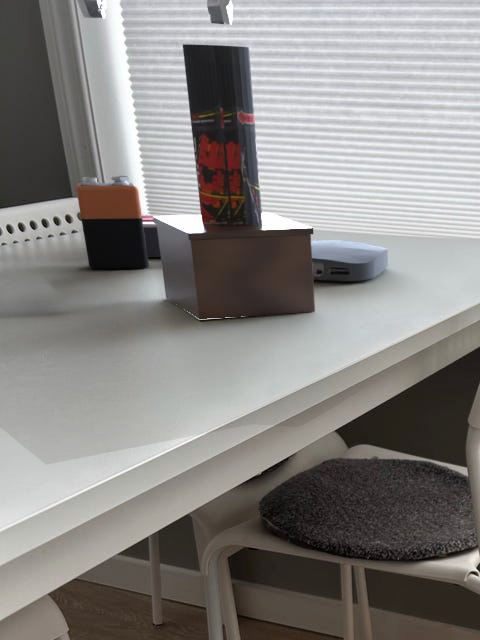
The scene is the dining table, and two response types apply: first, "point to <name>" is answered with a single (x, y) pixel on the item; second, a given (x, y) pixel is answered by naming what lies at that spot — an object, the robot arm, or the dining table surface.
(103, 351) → the dining table surface
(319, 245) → the media streaming box
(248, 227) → the walnut box
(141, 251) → the battery
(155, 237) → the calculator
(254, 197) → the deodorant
